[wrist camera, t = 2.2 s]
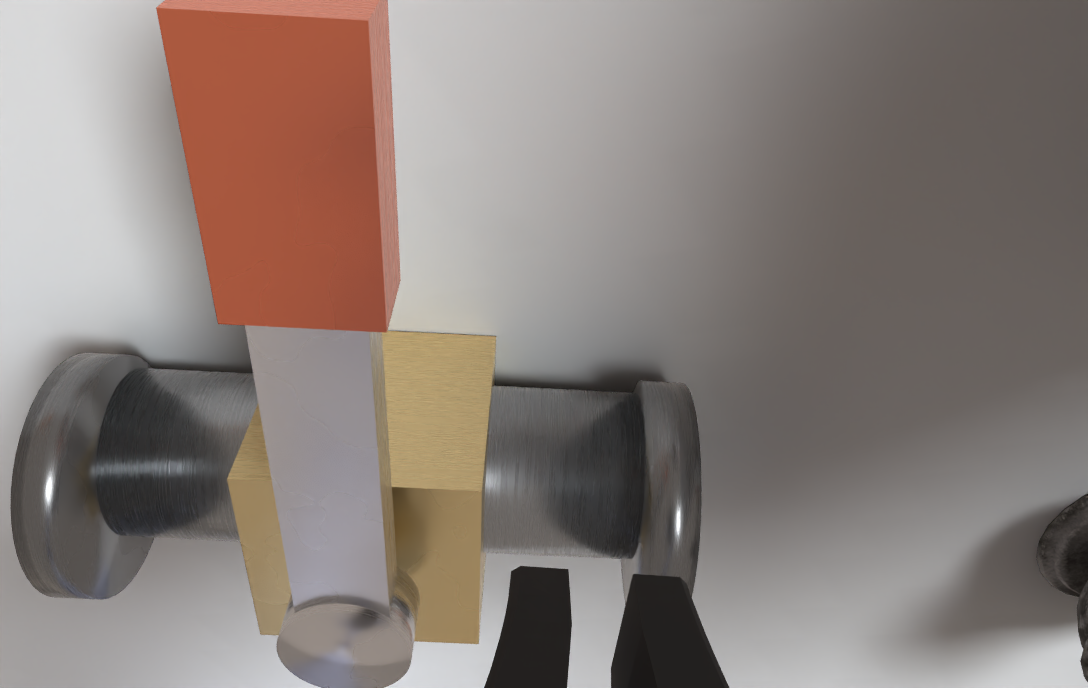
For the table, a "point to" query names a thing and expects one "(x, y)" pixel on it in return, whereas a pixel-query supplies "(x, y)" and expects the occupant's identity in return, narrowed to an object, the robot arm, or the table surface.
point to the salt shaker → (1069, 562)
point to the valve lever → (307, 294)
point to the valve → (416, 474)
